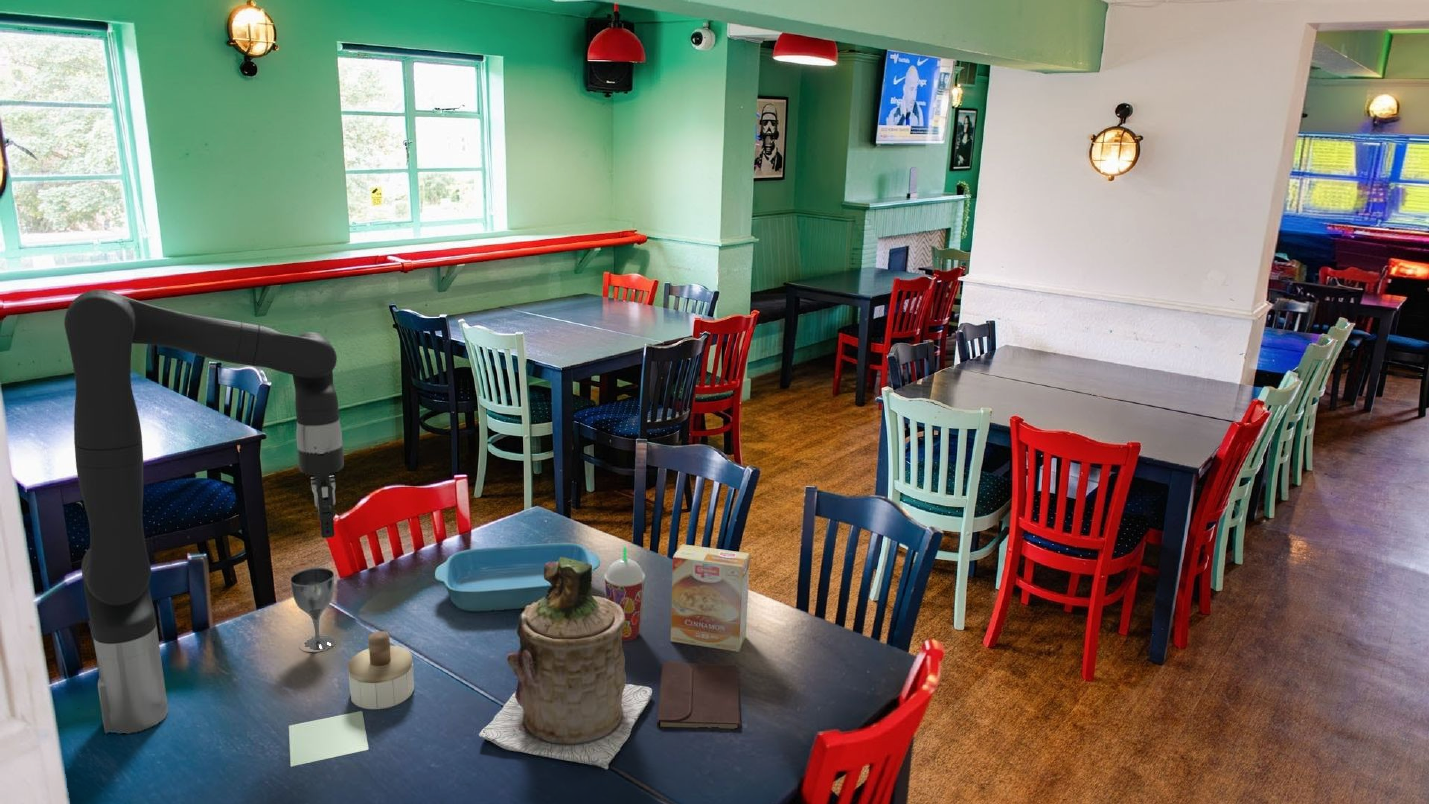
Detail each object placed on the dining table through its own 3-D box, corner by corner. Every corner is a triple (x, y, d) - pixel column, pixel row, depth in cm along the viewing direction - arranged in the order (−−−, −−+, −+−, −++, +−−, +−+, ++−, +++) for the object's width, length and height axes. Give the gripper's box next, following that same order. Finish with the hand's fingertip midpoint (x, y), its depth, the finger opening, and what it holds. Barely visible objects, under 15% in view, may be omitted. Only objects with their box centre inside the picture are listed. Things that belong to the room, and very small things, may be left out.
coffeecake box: (669, 642, 198) (671, 556, 193) (678, 626, 204) (681, 542, 199) (739, 653, 194) (743, 566, 189) (746, 636, 201) (750, 551, 196)
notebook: (737, 671, 188) (737, 662, 188) (740, 731, 169) (741, 721, 169) (662, 669, 188) (662, 660, 188) (656, 729, 169) (657, 719, 169)
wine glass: (310, 658, 187) (304, 589, 183) (289, 644, 191) (282, 577, 187) (346, 642, 193) (341, 575, 189) (325, 629, 198) (319, 564, 194)
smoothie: (646, 626, 203) (648, 541, 198) (640, 646, 195) (641, 557, 190) (608, 623, 204) (609, 538, 199) (600, 643, 196) (600, 554, 191)
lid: (351, 688, 167) (349, 656, 165) (346, 657, 176) (344, 627, 175) (416, 675, 171) (414, 645, 170) (408, 646, 181) (406, 617, 179)
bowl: (353, 718, 168) (351, 688, 167) (348, 686, 178) (346, 657, 176) (417, 705, 173) (416, 676, 171) (409, 674, 182) (408, 646, 181)
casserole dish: (434, 622, 203) (432, 592, 201) (438, 577, 224) (436, 549, 222) (605, 608, 211) (605, 579, 209) (594, 566, 232) (594, 539, 230)
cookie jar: (656, 695, 179) (660, 539, 170) (609, 775, 156) (610, 599, 147) (537, 673, 185) (534, 520, 176) (474, 747, 162) (467, 576, 153)
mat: (291, 770, 154) (290, 766, 154) (289, 729, 164) (288, 725, 164) (368, 753, 159) (368, 749, 159) (362, 714, 169) (362, 710, 169)
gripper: (296, 435, 175) (303, 516, 179) (298, 458, 162) (306, 546, 166) (339, 431, 178) (345, 511, 182) (345, 454, 165) (351, 540, 169)
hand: (326, 528), depth 174 cm, fingers open, 8 cm apart
